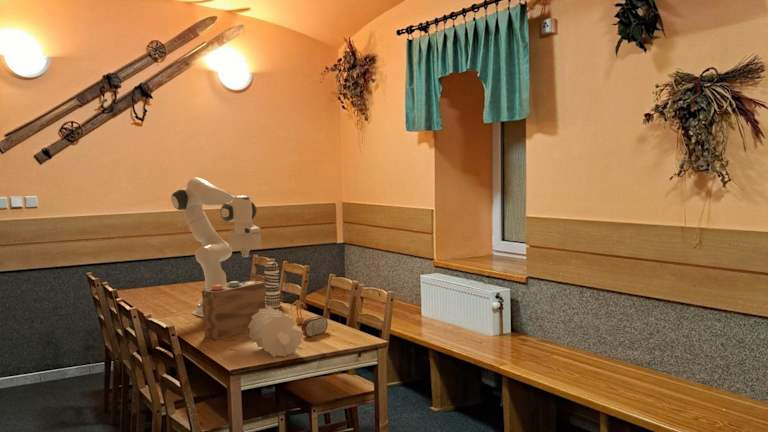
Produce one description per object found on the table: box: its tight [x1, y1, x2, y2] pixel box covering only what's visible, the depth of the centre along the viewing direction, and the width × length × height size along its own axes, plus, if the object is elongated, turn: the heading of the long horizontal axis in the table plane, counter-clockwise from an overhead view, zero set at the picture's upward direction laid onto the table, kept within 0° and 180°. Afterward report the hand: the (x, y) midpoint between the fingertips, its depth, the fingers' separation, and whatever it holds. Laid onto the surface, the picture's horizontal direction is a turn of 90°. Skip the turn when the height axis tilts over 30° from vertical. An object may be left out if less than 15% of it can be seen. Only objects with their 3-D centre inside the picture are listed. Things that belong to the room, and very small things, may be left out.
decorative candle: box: [263, 261, 282, 309], centre depth 388 cm, size 9×9×25 cm
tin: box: [301, 315, 328, 338], centre depth 319 cm, size 15×3×8 cm, turn 141°
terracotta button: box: [212, 285, 223, 291], centre depth 322 cm, size 5×5×2 cm
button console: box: [201, 280, 267, 340], centre depth 331 cm, size 10×30×22 cm, turn 143°
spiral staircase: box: [248, 307, 304, 358], centre depth 292 cm, size 18×18×25 cm
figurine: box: [290, 299, 308, 325], centre depth 343 cm, size 8×6×12 cm
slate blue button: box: [228, 280, 240, 288], centre depth 330 cm, size 5×5×2 cm
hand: (245, 257), depth 335 cm, fingers closed
